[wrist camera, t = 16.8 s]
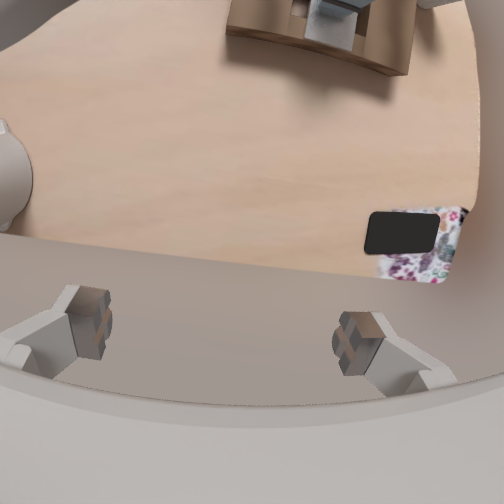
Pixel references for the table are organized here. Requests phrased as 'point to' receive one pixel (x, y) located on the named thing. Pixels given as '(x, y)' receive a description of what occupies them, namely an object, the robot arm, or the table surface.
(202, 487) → the robot arm
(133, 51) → the table surface
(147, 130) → the table surface
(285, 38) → the brown tissue box
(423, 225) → the phone
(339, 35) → the white rectangular bar
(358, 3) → the blue-gray rectangular block
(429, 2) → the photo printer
